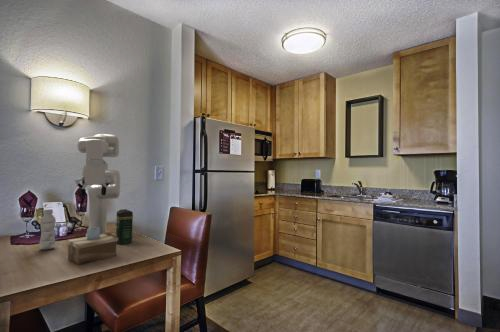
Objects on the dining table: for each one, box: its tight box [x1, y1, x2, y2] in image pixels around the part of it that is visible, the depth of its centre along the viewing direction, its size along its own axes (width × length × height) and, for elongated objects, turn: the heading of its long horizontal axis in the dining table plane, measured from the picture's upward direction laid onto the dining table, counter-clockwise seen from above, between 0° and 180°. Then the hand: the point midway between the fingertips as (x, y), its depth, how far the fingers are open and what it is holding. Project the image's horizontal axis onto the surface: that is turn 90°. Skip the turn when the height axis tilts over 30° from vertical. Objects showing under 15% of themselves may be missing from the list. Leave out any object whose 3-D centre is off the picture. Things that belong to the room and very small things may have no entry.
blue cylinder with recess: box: [86, 227, 100, 240], centre depth 124 cm, size 5×5×5 cm
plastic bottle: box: [38, 209, 57, 251], centre depth 134 cm, size 6×7×20 cm
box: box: [67, 241, 117, 266], centre depth 123 cm, size 12×16×7 cm
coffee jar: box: [115, 208, 134, 245], centre depth 149 cm, size 10×8×19 cm
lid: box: [66, 230, 118, 249], centre depth 124 cm, size 13×17×3 cm
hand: (93, 195), depth 137 cm, fingers open, 9 cm apart
